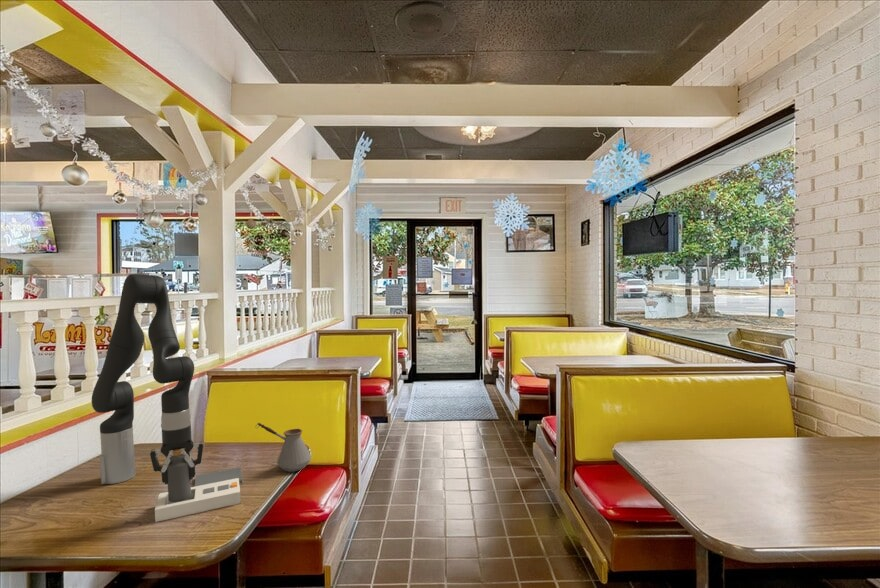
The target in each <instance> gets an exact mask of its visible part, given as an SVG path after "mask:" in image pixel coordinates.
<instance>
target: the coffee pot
mask: <svg viewBox="0 0 880 588" xmlns="http://www.w3.org/2000/svg"><path fill="white" fill-rule="evenodd" d="M259 427H261V428H262V429H264V430H265V431H267V432H268V433H270V434H273V435H275V436H277V437H278V438H280V439H281V440H284V442H283V445H282V447H281V450H280V453H279V456H278V459H277V460H276V461H277V462H276V463H277V466H278V467H279V468H280V469H282V470H283V471H285V472H289V473H291V472H297V471H301V470H304V469H305V468H306V466H307V465H308V464H309V463H310V462H311V459H312V457H311V453H310V452H309V449H308V448H307V446H306V444H305V442H304V440H303V439H302V433H303V430H302V429H301V428H291V429H288V430H287V429H286V430H285V431H284V432H283V435H284V436H283V435H281V434H279V433H278V432H276V431H275V430H273V429H272V428H270V427H268V426H266V425H265V424H262V423H261V422H257V423H256V425H255V428H256V429H258V428H259Z"/></svg>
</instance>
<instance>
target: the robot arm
mask: <svg viewBox="0 0 880 588" xmlns="http://www.w3.org/2000/svg"><path fill="white" fill-rule="evenodd" d="M122 285H123V286H122V291H121V294H120V301H119V305H118V306H119V307H118V312H117V316H116V320H115V324H114V327H113V330H112V333H111V337H110V340H109V343H108V347H107V351H106V355H105V359H104V363H103V365H102V368H101V370H100V374H99V376H98V379H97V381H96V383H95V386H94V388H93V391H92V395H91V407H92V409H93V410H94V412H96V413H99V414H102V413H103V414H104V413H110V412H113V411H114V412H113V413H112V414H111V415H110V416H109V417H108V418H107V419H105V420H104V421H102V422H101V423H100V424H99V433H100V434H99V436H100V438H99V439H100V452H101V453H100V456H99V464H100V465H99V467H100V482H101V485H113V484H119V483H123V482H126V481H129V480H131V479H133V478H134V477H135V476H136V464H135V463H136V461H135V458H136V457H135V445H134V443H135V442H134V429H133V428H134V427H133V426H134V425H133V421H134V417H135V409H134V408H135V397H134V396H135V395H134V389H133V386H132V384H131V383H130V382H129V381H124V380H123V381H119V380H120V378H121V377H122V376H123V375H124V374H125V373H126V372H127V371H128V370H129V369H130V368H131V367H132V366H133V365H134V364H135V363H136V362H137V361H138V359H139V358H140V355H141V352H142V349H143V346H144V343H145V334H144V332H143V330H142V328H141V326H140V324H139V322H138V320H137V318H136V315H135V309H136V305H137V304H153V305H154V306H155V308H156V310H155V314H154V316H153V318H152V319H151V321H150V324H149V326H148V329H147V335H148V339H149V343H150V346H151V349H152V353H153V354H152V355H153V363H152V364H153V365H152V377H153V379H154V381H156V382H157V383H158V384H162V385H163V384H170V383H175V382H177V383H176V385H175V386H174V387H172V388H170V389H168V390H165V391H164V392H162V393H161V397H160V398H161V399H160V402H161V418H160V419H161V421H160V422H161V423H160V427H161V447H160V448H157V449H154V448H153V449H151V450H150V453H149V457H150V461H151V465H152V468H153V472H156V473H157V472H160V473H161V482H162V484H164V485H168V479H167V467H168V465H169V463H170V461H171V460H170V457H172V456H173V453H172V451H174V450H175V449H180V450H181V449H182V452H181V454H182V455H185V458H184V459H185V460H186V462H188V464H189V466H190V467H189V472H190V481H191V480H193V478H196V466H197V465H200V464H201V463H202V458H203V450H204V441H199V442H193V439H192V421H191V420H192V419H191V418H192V417H191V412H190V389H191V385H192V380H193V377H194V374H195V373H194V372H195V364H194V363H195V362H194V361H193V360H192V358H191V357H189V356H187V355H186V356H177V357H172V356H175V355H177V353H179V351H180V349H181V347H180V343H179V338H178V337H177V334H176V330H175V327H174V324H173V321H172V312H171V304H170V299H169V293H168V287H167V286H168V285H167V284H166V281H165V279H164V278H163V277H162V276H160V275H155V274H154V275H153V274H141V273H131V274H129V275H127V277H126V278H125V280H124V282H123V284H122ZM184 448H185V449H184ZM192 449H194V450H195V451H197V457H196V459H194V458H193V456H192V454H191V451H192ZM169 450H170V452H169ZM160 453H161V454H162V455H163V456H165V460H164V462H163V463H162V465H160V462H159V456H160Z"/></svg>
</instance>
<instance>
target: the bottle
mask: <svg viewBox="0 0 880 588" xmlns="http://www.w3.org/2000/svg"><path fill="white" fill-rule="evenodd" d="M184 449H185V448H184ZM169 452H170V450H169ZM181 452H182V449H181V450H180V449H175V450H174V451H172V453H173V456H172V457H170V460H171V461H170V463H169V465H168V467H167V479H168V484H167V492H168V498H169V501H170V502H180V501H183V500H186V499H188V498H189V497H190V496H191V487H192V485H191V480H190V472H189V467H190V466H189V464H188V462H186V460H185V459H184V458H185V455H182V454H181Z"/></svg>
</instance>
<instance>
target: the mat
mask: <svg viewBox="0 0 880 588" xmlns="http://www.w3.org/2000/svg"><path fill="white" fill-rule="evenodd" d="M194 478H195V479H194V485H193V487H195V486H200V485H205V484H210V483H215V482H220V481H225V480H230V479H235V478H239V485H241V484H240V483H242V484H243V476H242V468H241V466H239V467H233V468H228V469H223V470H217V471H212V472H207V473H206V472H205V473H203V474H202V473H201V474H195V477H194Z"/></svg>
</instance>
